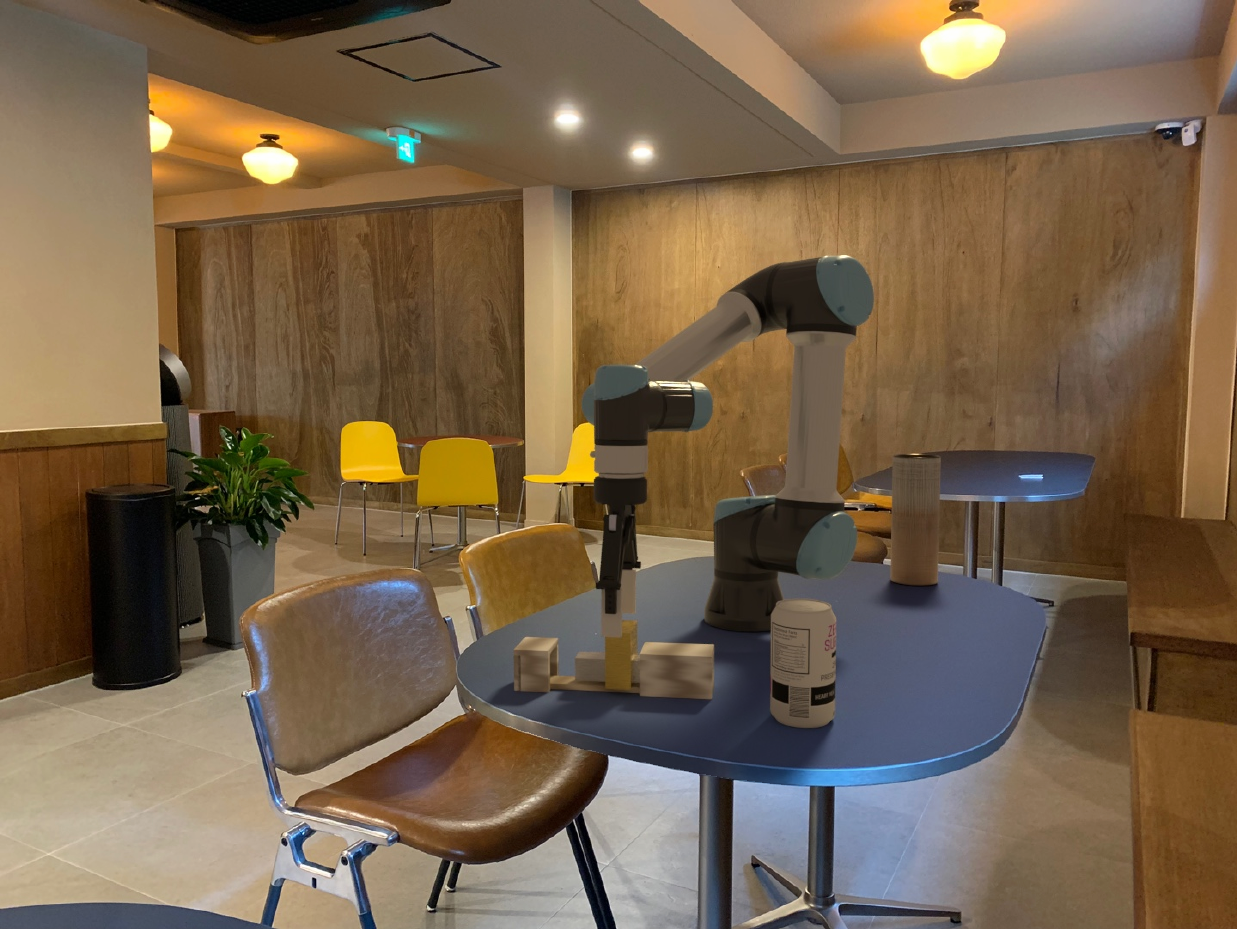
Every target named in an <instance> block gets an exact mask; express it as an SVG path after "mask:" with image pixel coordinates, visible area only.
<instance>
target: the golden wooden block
mask: <svg viewBox="0 0 1237 929" xmlns="http://www.w3.org/2000/svg"><path fill="white" fill-rule="evenodd" d="M713 668H714V669H715V656H714V657H713V659H712V685H713ZM574 676H575V680H585V681H605V689H624V690H631V688H632V686H633V684H634V683H640V653H638V620H629V619H622V637H604V652H600V651H599V652H598V651H578V653H577V655H576V656H575V657H574Z"/></svg>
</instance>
